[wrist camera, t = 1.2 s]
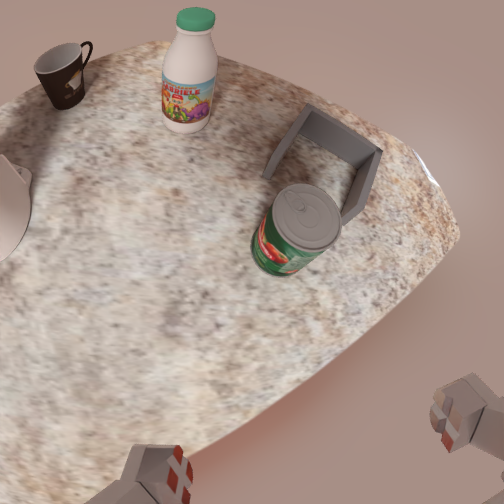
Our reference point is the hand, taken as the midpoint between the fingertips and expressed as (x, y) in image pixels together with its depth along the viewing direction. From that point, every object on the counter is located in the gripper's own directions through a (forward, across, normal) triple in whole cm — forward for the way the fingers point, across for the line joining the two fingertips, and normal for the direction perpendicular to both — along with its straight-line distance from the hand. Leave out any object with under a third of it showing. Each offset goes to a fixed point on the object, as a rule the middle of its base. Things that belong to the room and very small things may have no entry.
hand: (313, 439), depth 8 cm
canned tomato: (+34, -2, +3) cm, 35 cm away
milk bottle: (+44, +8, -19) cm, 48 cm away
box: (+42, -11, -6) cm, 44 cm away
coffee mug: (+43, +28, -30) cm, 60 cm away
